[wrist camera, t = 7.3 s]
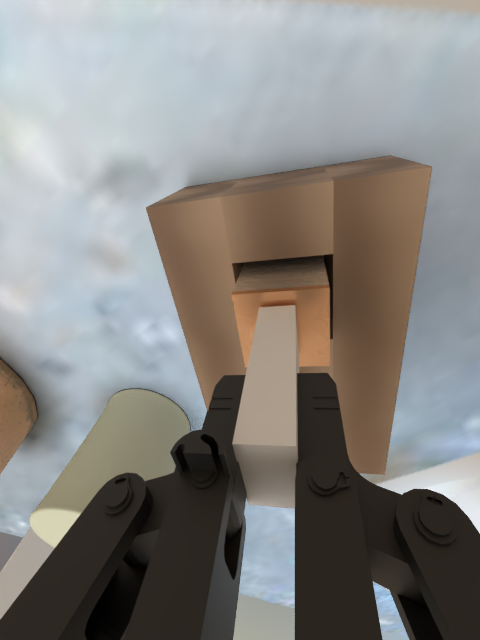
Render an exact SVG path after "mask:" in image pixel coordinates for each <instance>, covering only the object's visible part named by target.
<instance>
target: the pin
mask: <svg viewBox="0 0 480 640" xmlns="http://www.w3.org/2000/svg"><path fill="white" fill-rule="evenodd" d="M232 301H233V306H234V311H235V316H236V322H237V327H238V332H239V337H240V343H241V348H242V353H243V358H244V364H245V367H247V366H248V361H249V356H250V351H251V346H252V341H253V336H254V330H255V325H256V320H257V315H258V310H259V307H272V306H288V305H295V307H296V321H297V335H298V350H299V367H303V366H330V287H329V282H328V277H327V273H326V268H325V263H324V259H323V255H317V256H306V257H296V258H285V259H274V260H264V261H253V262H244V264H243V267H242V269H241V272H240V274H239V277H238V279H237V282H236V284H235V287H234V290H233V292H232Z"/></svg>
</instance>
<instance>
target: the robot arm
mask: <svg viewBox="0 0 480 640" xmlns="http://www.w3.org/2000/svg"><path fill="white" fill-rule="evenodd" d="M170 454H171V456H172V458H173V460H174V463H175V465H176V467H177V469H178V470H177V471H176V472H173V473H171V474H168V475H165V476H161V477H158V478H154V479H151V480H147V481H144V479H143V478H142V477H141V476H139V475H138V474H137V473H128V472H127V473H124V474H120V475H117V476H115V477H114V478H112V479H111V480H109V481H107V482H106V483H105V484H104V486H103V487H102V488H101V489H100V490H99V491H98V492H97V493H96V495H95V496H94V497H93V499H92V500H91V501H90V503H89V504H88V505H87V506H86V508H85V509H84V510H83V512H82V513H81V514H80V516H79V517H78V518H77V520H76V521H75V522H74V524H73V525H72V526H71V527H70V529H69V530H68V531H67V533H66V534H65V535H64V537H63V538H62V539H61V541H60V542H59V543H58V544H57V546H56V547H55V548H54V550H53V551H52V552H51V554H50V555H49V556H48V558H47V559H46V560H45V562H44V563H43V564H42V565H41V567H40V568H39V569H38V571H37V572H36V573H35V575H34V576H33V577H32V579H31V580H30V581H29V583H28V584H27V585H26V586H25V588H24V589H23V590H22V592H21V593H20V594H19V596H18V597H17V598H16V600H15V601H14V602H13V603H12V605H11V606H10V607H9V609H8V610H7V611H6V613H5V614H4V615H3V617H2V618H1V619H0V640H233V634H234V626H235V618H236V609H237V600H238V592H239V583H240V575H241V566H242V558H243V549H244V541H245V532H246V522H245V516H244V509H245V501H246V498H247V501H248V505H258V506H271V507H284V508H295V640H382V635H381V629H380V623H379V617H378V611H377V605H376V600H375V594H374V588H373V582H372V581H374V582H376V583H378V584H380V585H381V586H383V587H385V588H387V589H389V590H390V592H391V595H392V597H393V600H394V602H395V605H396V607H397V610H398V612H399V615H400V617H401V620H402V622H403V625H404V627H405V630H406V632H407V635H408V637H409V639H410V640H480V534H479V532H478V531H477V529H476V528H475V526H474V525H473V523H472V522H471V520H470V519H469V518H468V516H467V515H466V514H465V513H464V512H463V511H462V510H461V509H460V507H458V505H457V504H456V503H454V502H453V501H451V500H450V499H448V498H447V497H445V496H444V495H442V494H440V493H437V492H434V491H431V490H428V489H413V490H410V491H408V492H406V493H403V495H401V494H398V493H395V492H393V491H390V490H387V489H385V488H382V487H379V486H377V485H375V484H373V483H371V482H369V481H368V480H366V479H365V478H363V477H362V476H361V475H360V474H359V473H358V472H357V471H356V470H355V469H354V467H353V465H352V464H351V462H350V460H349V456H348V453H347V447H346V441H345V435H344V429H343V422H342V416H341V411H340V404H339V400H338V392H337V386H336V383H335V382H334V380H333V379H332V378H331V376H330V375H329V374H328V373H299V350H298V335H297V321H296V307H295V305H288V306H272V307H259V310H258V315H257V320H256V325H255V330H254V336H253V341H252V346H251V351H250V356H249V361H248V366H247V371H246V375H224V376H223V377H222V378H221V379H220V381H219V382H218V383H217V384H216V385H215V388H214V391H213V395H212V400H211V401H210V404H209V410H208V411H207V414H206V417H205V421H204V424H203V427H202V430H197V431H192V432H190V433H188V434H186V435H184V436H183V437H182V438H180V439H179V440H178V441H177V442H176V443H175V445H174V446H173V448H172V450H171V451H170Z"/></svg>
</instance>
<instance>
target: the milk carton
mask: <svg viewBox="0 0 480 640" xmlns="http://www.w3.org/2000/svg"><path fill="white" fill-rule="evenodd" d="M53 550H54V547H52V546H51V545H49V544H48V543H46V542H45V541H44V540H42V539H41V538H40V537H39V536H38V535H37V534H36V533H35V532H34V531H33V529H32V527H30V529H29V530H28V532H27V533H26V535H25V536H24V538H23V539H22V541H21V542H20V544H19V545H18V547H17V548H16V550H15V551H14V553H13V554H12V556H11V557H10V559H9V560H8V562H7V563H6V565H5V566H4V568H3V569H2V571H1V572H0V619H1V618H2V617H3V615H4V614H5V613H6V611H7V610H8V609H9V607H10V606H11V605H12V603H13V602H14V601H15V600H16V598H17V597H18V596H19V594H20V593H21V592H22V590H23V589H24V588H25V586H26V585H27V584H28V583H29V581H30V580H31V579H32V577H33V576H34V575H35V573H36V572H37V571H38V569H39V568H40V567H41V565H42V564H43V563H44V562H45V560H46V559H47V558H48V556H49V555H50V554H51V552H52V551H53Z"/></svg>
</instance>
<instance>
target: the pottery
mask: <svg viewBox="0 0 480 640" xmlns="http://www.w3.org/2000/svg"><path fill="white" fill-rule="evenodd" d="M36 419H37V411H36V406H35V401H34V398H33V396H32V394H31V393H30V391H29V390H28V388H27V387H26V385H25V383H24V382H23V380H22V379H21V378H20V377H19V376H18V375H17V374H16V373H15V372H14V371H13V370H12V369H11V368H10V367H9V366H8V365H7V364H6V363H5V362H4V361H3V360H1V359H0V474H1V472H2V471H3V469H4V468H5V466H6V465H7V464H8V462H9V461H10V459H11V458H12V456H13V455H14V453H15V452H16V450H17V449H18V447H19V446H20V444H21V443H22V442H23V440H24V439H25V437H26V436H27V434H28V433H29V432H30V430H31V429H32V428H33V426H34V424H35V421H36Z"/></svg>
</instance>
